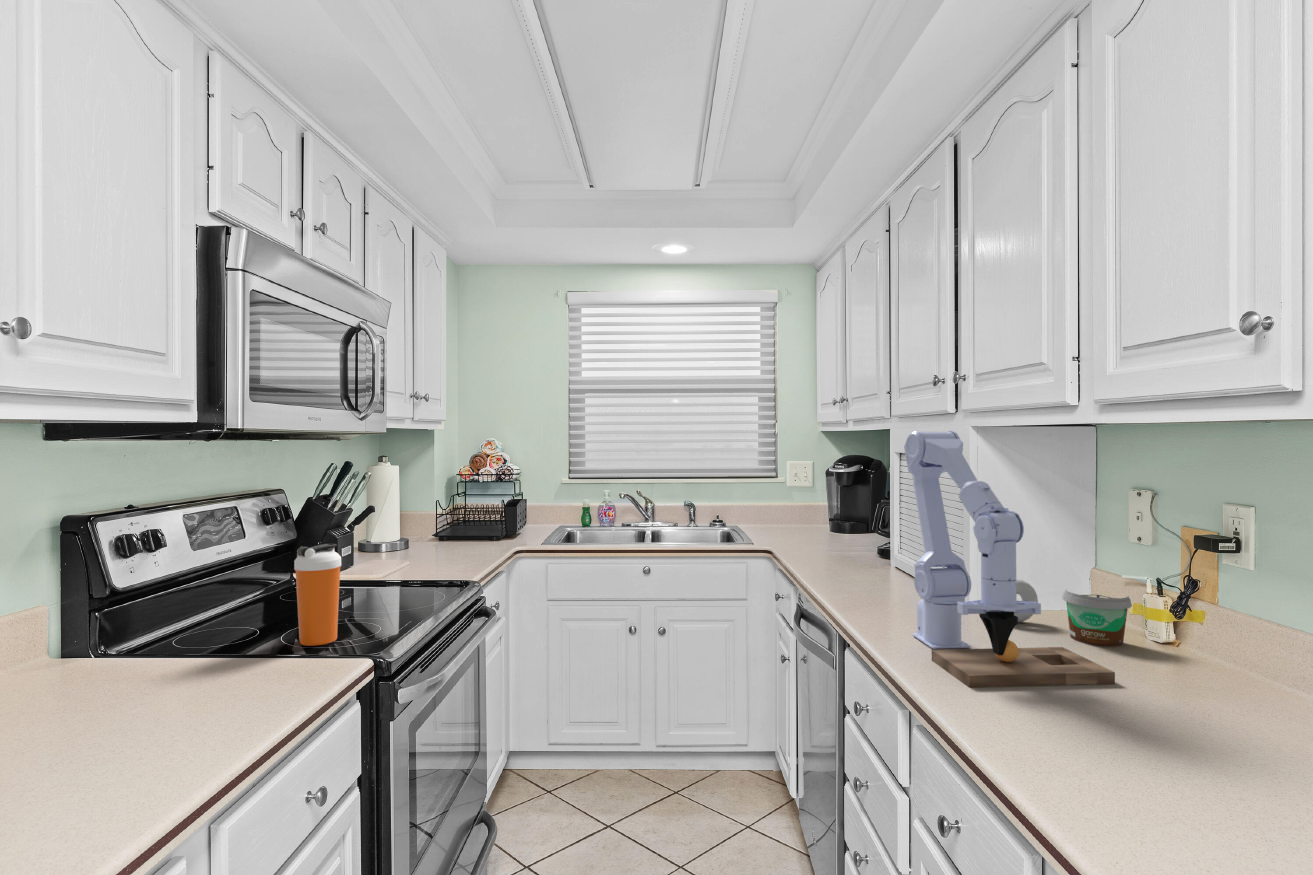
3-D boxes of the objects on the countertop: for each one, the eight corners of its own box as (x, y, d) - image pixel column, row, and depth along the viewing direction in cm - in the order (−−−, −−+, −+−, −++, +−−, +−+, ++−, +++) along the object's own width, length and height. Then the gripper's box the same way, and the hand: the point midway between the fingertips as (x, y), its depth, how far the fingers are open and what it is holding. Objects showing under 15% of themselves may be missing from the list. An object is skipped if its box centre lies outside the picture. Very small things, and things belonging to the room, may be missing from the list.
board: (931, 659, 131) (931, 649, 131) (1062, 657, 132) (1062, 646, 132) (969, 687, 117) (969, 675, 117) (1114, 683, 118) (1114, 672, 118)
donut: (996, 624, 155) (997, 580, 155) (989, 620, 158) (989, 577, 158) (1041, 624, 155) (1041, 580, 155) (1032, 620, 158) (1033, 577, 158)
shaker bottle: (350, 638, 145) (350, 544, 145) (310, 649, 138) (309, 550, 137) (326, 632, 150) (325, 541, 150) (285, 642, 142) (285, 547, 142)
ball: (985, 646, 126) (1001, 631, 126) (1000, 660, 126) (1016, 645, 126) (996, 656, 122) (1012, 640, 122) (1011, 670, 123) (1027, 655, 122)
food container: (1063, 643, 141) (1064, 594, 141) (1062, 635, 147) (1062, 588, 147) (1136, 652, 135) (1136, 601, 135) (1131, 643, 141) (1131, 595, 141)
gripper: (970, 582, 120) (971, 660, 119) (1051, 582, 120) (1051, 659, 120) (951, 575, 127) (952, 649, 126) (1027, 575, 127) (1028, 648, 127)
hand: (999, 653), depth 124 cm, fingers closed, pressing on ball
